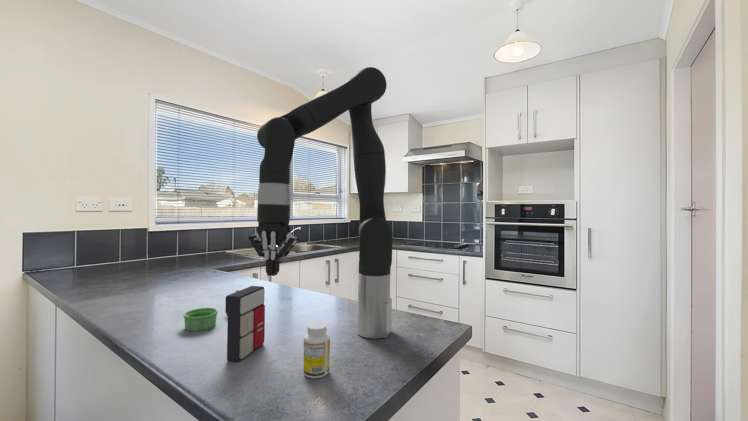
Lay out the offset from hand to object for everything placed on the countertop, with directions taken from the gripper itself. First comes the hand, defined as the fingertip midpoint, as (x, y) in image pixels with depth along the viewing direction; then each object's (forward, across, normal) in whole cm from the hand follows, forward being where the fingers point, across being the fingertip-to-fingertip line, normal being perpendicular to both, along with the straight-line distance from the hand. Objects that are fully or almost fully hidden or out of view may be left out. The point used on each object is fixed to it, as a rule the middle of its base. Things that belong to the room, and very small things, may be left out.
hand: (272, 275), depth 78 cm
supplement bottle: (+20, -14, +4) cm, 25 cm away
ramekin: (+20, +31, -10) cm, 38 cm away
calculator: (+20, +7, 0) cm, 21 cm away
